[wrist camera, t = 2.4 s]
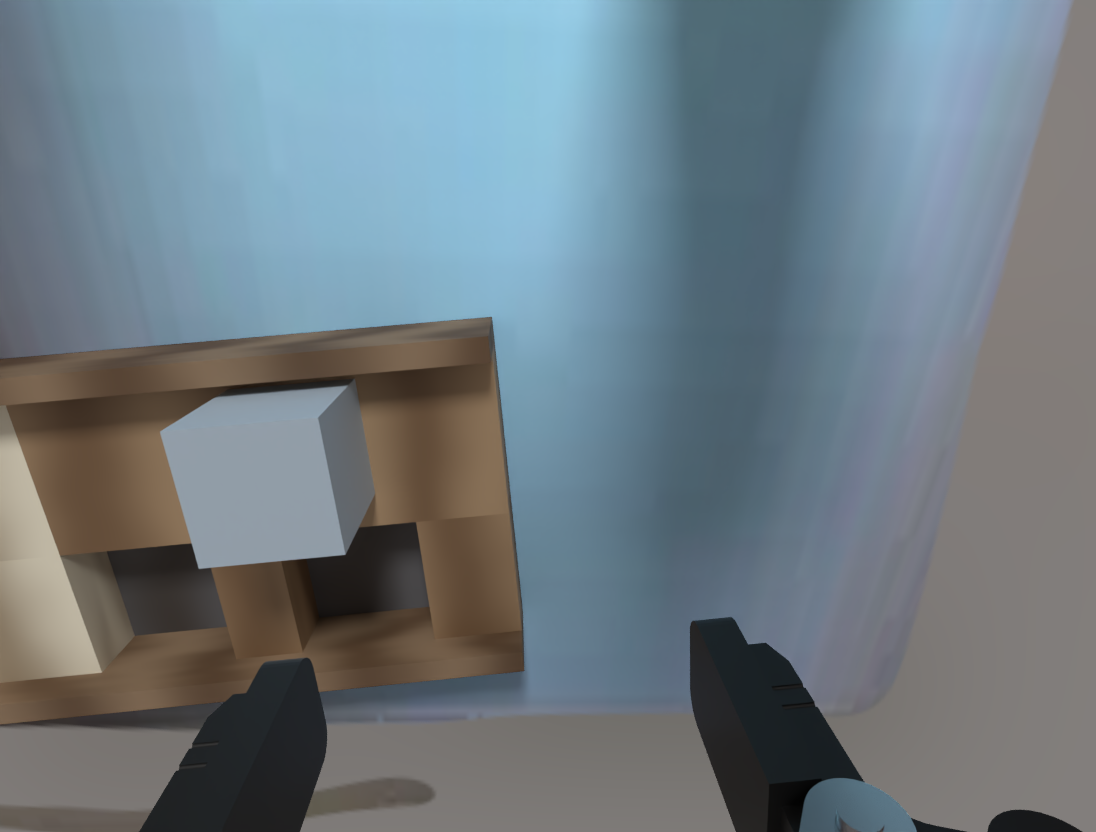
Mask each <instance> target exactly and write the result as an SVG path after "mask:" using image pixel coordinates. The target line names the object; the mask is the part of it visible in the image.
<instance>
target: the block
mask: <svg viewBox="0 0 1096 832" xmlns="http://www.w3.org/2000/svg"><path fill="white" fill-rule="evenodd" d="M160 434H161V438H162V441H163V445H164V448H165V452H166V455H167V459H168V462H169V466H170V469H171V473H172V476H173V480H174V483H175V487H176V490H177V494H178V497H179V501H180V504H181V508H182V511H183V515H184V518H185V522H186V525H187V529H188V532H189V536H190V539H191V543H192V546H193V550H194V553H195V557H196V561H197V564H198V568H199V569H203V568H213V567H223V566H234V565H244V564H255V563H265V562H276V561H286V560H297V559H307V558H317V557H328V556H338V555H346V553H347V551H348V549H349V547H350V545H351V542H352V540H353V538H354V536H355V534H356V532H357V530H358V528H359V526H360V524H361V522H362V520H363V518H364V516H365V514H366V512H367V510H368V507H369V505H370V503H371V501H372V499H373V497H374V495H375V489H374V483H373V478H372V472H371V466H370V461H369V455H368V449H367V444H366V438H365V433H364V427H363V421H362V416H361V410H360V405H359V399H358V393H357V388H356V382H355V379H344V380H333V381H321V382H310V383H299V384H287V385H276V386H265V387H253V388H242V389H231V390H226V391H225V392H223V393H221V394H220V395H218V396H216V397H215V398H213V399H212V400H210V401H208V402H207V403H205V404H204V405H202V406H200V407H199V408H197V409H196V410H194V411H192V412H191V413H189V414H187V415H186V416H184V417H183V418H181V419H179V420H178V421H176V422H175V423H173V424H171V425H170V426H168V427H167V428H165V429H163V430H162V431H160Z"/></svg>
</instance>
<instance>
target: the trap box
mask: <svg viewBox="0 0 1096 832" xmlns="http://www.w3.org/2000/svg"><path fill="white" fill-rule="evenodd" d="M344 379H355V382H356V388H357V393H358V399H359V405H360V410H361V416H362V421H363V427H364V433H365V438H366V444H367V449H368V455H369V461H370V466H371V472H372V478H373V483H374V489H375V495H374V497H373V499H372V501H371V503H370V505H369V507H368V510H367V512H366V514H365V516H364V518H363V520H362V522H361V524H360V526H359V528H358V530H357V532H356V534H355V536H354V538H353V540H352V542H351V545H350V547H349V549H348V551H347V553H346V555H338V556H328V557H317V558H307V559H297V560H286V561H276V562H265V563H255V564H244V565H234V566H223V567H213V568H203V569H199V568H198V564H197V561H196V557H195V553H194V550H193V546H192V543H191V539H190V536H189V532H188V529H187V525H186V522H185V518H184V515H183V511H182V508H181V504H180V501H179V497H178V494H177V490H176V487H175V483H174V480H173V476H172V473H171V469H170V466H169V462H168V459H167V455H166V452H165V448H164V445H163V441H162V438H161V434H160V431H162V430H163V429H165V428H167V427H168V426H170V425H171V424H173V423H175V422H176V421H178V420H179V419H181V418H183V417H184V416H186V415H187V414H189V413H191V412H192V411H194V410H196V409H197V408H199V407H200V406H202V405H204V404H205V403H207V402H208V401H210V400H212V399H213V398H215V397H216V396H218V395H220V394H221V393H223V392H225V391H226V390H231V389H242V388H253V387H265V386H276V385H287V384H299V383H310V382H321V381H333V380H344ZM297 658H309V659H310V660H311V662H312V664H313V668H314V672H315V677H316V681H317V685H318V690H319V692H324V691H333V690H343V689H353V688H363V687H373V686H382V685H392V684H402V683H412V682H422V681H431V680H441V679H451V678H461V677H471V676H481V675H490V674H500V673H510V672H520V671H524V643H523V609H522V600H521V590H520V581H519V571H518V562H517V552H516V542H515V533H514V523H513V514H512V504H511V495H510V485H509V476H508V466H507V457H506V447H505V438H504V428H503V418H502V409H501V399H500V390H499V380H498V371H497V361H496V352H495V342H494V333H493V323H492V317H486V318H475V319H463V320H451V321H440V322H428V323H416V324H405V325H393V326H381V327H370V328H358V329H346V330H335V331H323V332H311V333H300V334H288V335H276V336H265V337H253V338H241V339H230V340H218V341H206V342H195V343H183V344H171V345H160V346H148V347H136V348H125V349H113V350H101V351H90V352H78V353H66V354H55V355H43V356H31V357H20V358H8V359H0V724H10V723H19V722H29V721H39V720H49V719H59V718H68V717H78V716H88V715H98V714H108V713H118V712H127V711H137V710H147V709H157V708H167V707H176V706H186V705H196V704H206V703H216V702H225V701H226V700H227V699H229V698H230V697H231V696H232V695H233V694H242V693H246V692H247V690H248V688H249V687H250V685H251V683H252V681H253V679H254V678H255V676H256V674H257V672H258V670H259V669H260V667H261V665H262V664H263V663H265V662H267V661H276V660H286V659H297Z"/></svg>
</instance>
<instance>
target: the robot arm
mask: <svg viewBox="0 0 1096 832" xmlns="http://www.w3.org/2000/svg"><path fill="white" fill-rule="evenodd" d="M690 691H691V700H692V707H693V712H694V716H695V720H696V723H697V726H698V729H699V732H700V734H701V737H702V739H703V742H704V745H705V748H706V751H707V753H708V756H709V759H710V762H711V765H712V767H713V770H714V773H715V776H716V778H717V781H718V784H719V787H720V789H721V792H722V795H723V797H724V800H725V803H726V806H727V809H728V811H729V814H730V817H731V819H732V822H733V825H734V827H735V830H736V832H965V831H960V830H955V829H949V828H944V827H939V826H934V825H930V824H926V823H923V822H920V821H917V820H915V819H912V818H910V816H909V815H908V814H907V812H906V811H905V810H904V809H903V808H902V807H901V806H900V804H899V803H897V802H896V801H895V800H894V799H893V798H892V797H890V796H889V795H888V794H886V793H885V792H883V791H881V790H880V789H878V788H876V787H874V786H872V785H870V784H867V783H865V782H864V781H863V779H862V778H861V776H860V775H859V773H858V772H857V770H856V768H855V767H854V765H853V763H852V762H851V760H850V759H849V757H848V755H847V754H846V752H845V751H844V749H843V747H842V746H841V744H840V743H839V741H838V739H837V738H836V736H835V735H834V733H833V731H832V730H831V728H830V727H829V725H828V723H827V722H826V720H825V718H824V717H823V715H822V714H821V712H820V710H819V709H818V707H815V704H814V701H813V699H812V697H811V696H810V694H809V693H808V691H807V689H806V688H804V687H803V683H802V681H801V680H800V678H799V677H798V675H797V673H796V672H795V670H794V669H793V667H792V665H791V664H790V662H789V661H788V660H787V659H786V658H784V657H783V656H782V655H781V654H779V653H778V652H777V651H775V650H774V649H773V648H772V647H770V646H769V645H768V644H766V643H759V644H749V645H748V643H747V642H746V640H745V638H744V636H743V634H742V633H741V631H740V629H739V627H738V625H737V624H736V622H735V620H734V619H733V618H731V617H728V618H718V619H708V620H698V621H692V622H691V626H690ZM192 744H193V745H192V749H189V750H188V752H187V753H186V755H185V757H184V758H183V760H182V762H181V763H180V765H179V766H180V767H179V771H176V772H175V773H174V775H173V777H172V778H171V780H170V782H169V783H168V785H167V787H166V788H165V790H164V792H163V793H162V795H161V797H160V798H159V800H158V801H157V803H156V805H155V806H154V808H153V810H152V811H151V813H150V815H149V816H148V818H147V820H146V821H145V823H144V825H143V826H142V828H141V830H140V831H139V832H300V830H301V827H302V824H303V821H304V818H305V815H306V812H307V809H308V806H309V803H310V800H311V797H312V794H313V792H314V788H315V786H316V782H317V780H318V777H319V774H320V771H321V768H322V765H323V762H324V758H325V753H326V746H327V726H326V721H325V716H324V712H323V707H322V703H321V699H320V694H319V690H318V685H317V681H316V677H315V672H314V668H313V664H312V662H311V660H310V659H309V658H297V659H286V660H276V661H267V662H265V663H263V664H262V665H261V667H260V669H259V670H258V672H257V674H256V676H255V678H254V679H253V681H252V683H251V685H250V687H249V688H248V690H247V692H246V693H242V694H233V695H232V696H231V697H230V698H229V699H227V700H226V701H225V702H224V703H223V704H222V705H221V706H220V707H219V708H218V709H217V710H216V711H215V712H213V713H212V714H211V715H210V716H209V717H208V718H207V720H206V722H205V723H204V725H203V727H202V728H201V730H200V732H199V733H198V735H197V737H196V738H195V740H194V742H193V743H192ZM988 832H1082V831H1080V830H1079V829H1077V828H1075V827H1074V826H1071V825H1070V824H1068V823H1066V822H1064V821H1062V820H1059V819H1057V818H1055V817H1052V816H1049V815H1046V814H1043V813H1039V812H1034V811H1029V810H1010V811H1006V812H1003V813H1001V814H999V815H997V816H996V817H995V818H994V819H993V820H992V821H991V823H990V825H989V827H988Z"/></svg>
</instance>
